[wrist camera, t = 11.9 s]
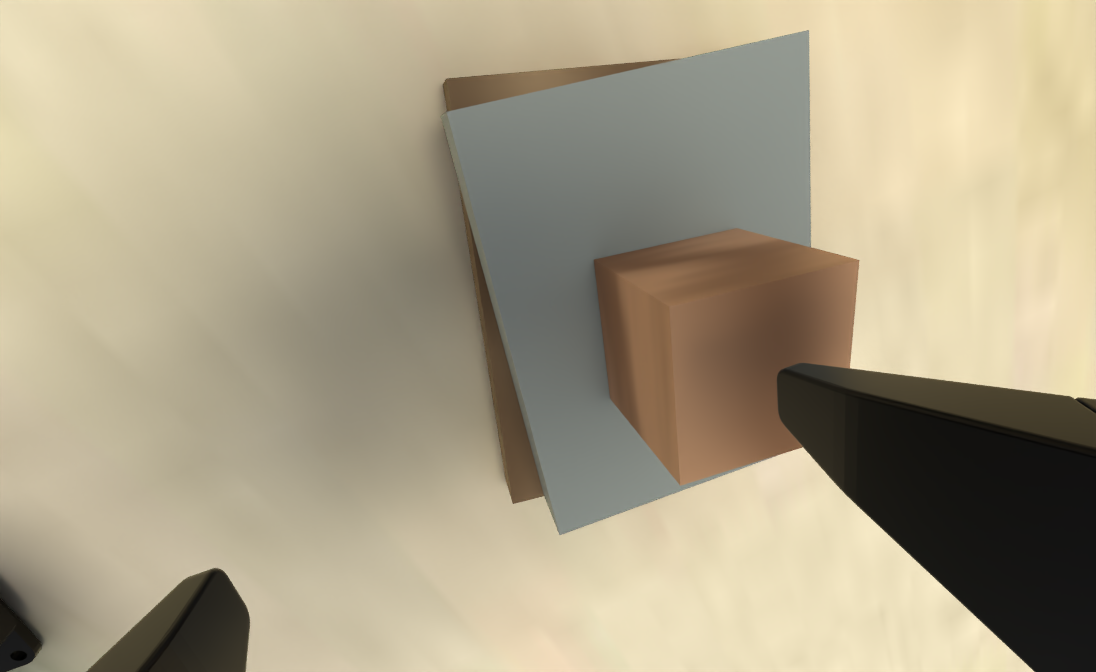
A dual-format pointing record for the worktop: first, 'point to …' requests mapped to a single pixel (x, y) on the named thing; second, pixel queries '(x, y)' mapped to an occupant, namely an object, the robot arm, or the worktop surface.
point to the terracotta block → (719, 341)
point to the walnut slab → (506, 404)
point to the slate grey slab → (620, 230)
